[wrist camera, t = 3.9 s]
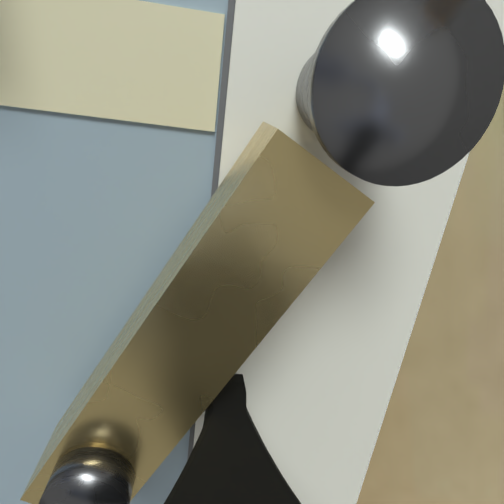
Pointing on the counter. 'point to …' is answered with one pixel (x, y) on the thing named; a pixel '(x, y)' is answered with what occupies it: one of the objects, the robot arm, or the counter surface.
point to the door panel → (186, 223)
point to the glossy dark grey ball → (403, 86)
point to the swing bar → (199, 320)
